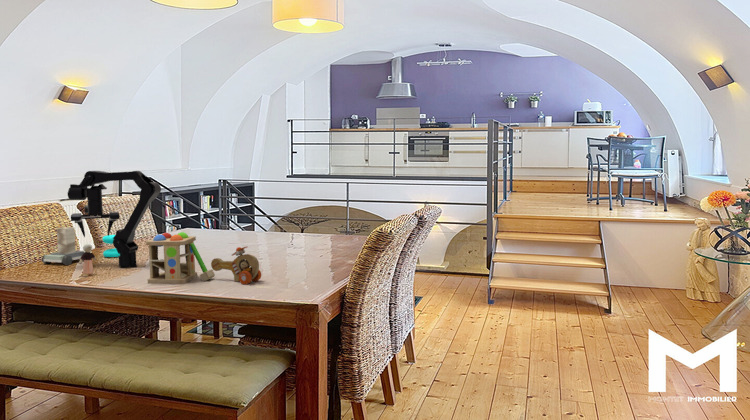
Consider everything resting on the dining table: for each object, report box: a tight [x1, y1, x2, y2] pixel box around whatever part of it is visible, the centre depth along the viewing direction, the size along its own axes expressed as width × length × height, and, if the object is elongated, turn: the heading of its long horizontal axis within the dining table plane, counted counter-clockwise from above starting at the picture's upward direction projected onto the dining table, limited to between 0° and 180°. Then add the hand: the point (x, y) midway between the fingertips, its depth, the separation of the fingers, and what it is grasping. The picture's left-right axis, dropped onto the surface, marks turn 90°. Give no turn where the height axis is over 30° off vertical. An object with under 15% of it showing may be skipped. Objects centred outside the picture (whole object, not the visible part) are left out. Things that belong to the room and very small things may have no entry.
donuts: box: [102, 234, 120, 258], centre depth 281 cm, size 10×10×10 cm
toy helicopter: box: [210, 246, 262, 285], centre depth 222 cm, size 8×21×14 cm, turn 67°
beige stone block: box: [56, 226, 77, 254], centre depth 264 cm, size 5×5×13 cm
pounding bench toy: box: [145, 231, 216, 284], centre depth 225 cm, size 23×14×18 cm, turn 89°
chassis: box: [41, 249, 85, 266], centre depth 265 cm, size 16×13×4 cm
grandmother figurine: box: [78, 243, 97, 277], centre depth 235 cm, size 8×4×13 cm, turn 168°
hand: (96, 236), depth 253 cm, fingers open, 9 cm apart
